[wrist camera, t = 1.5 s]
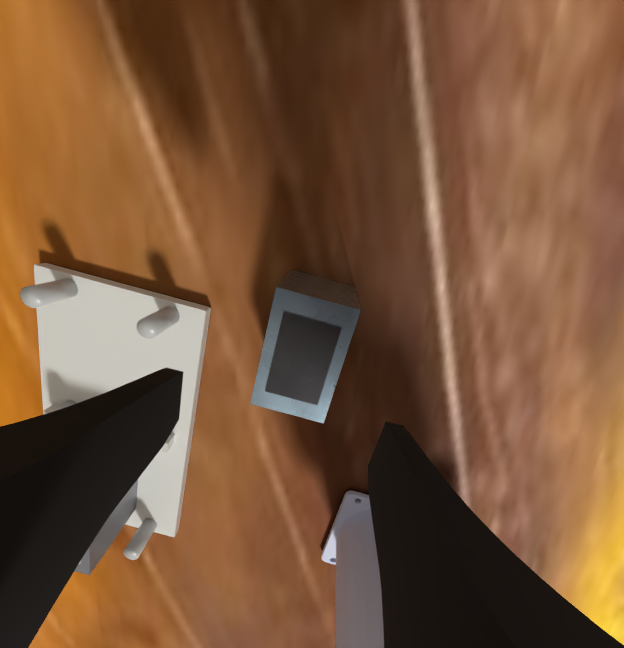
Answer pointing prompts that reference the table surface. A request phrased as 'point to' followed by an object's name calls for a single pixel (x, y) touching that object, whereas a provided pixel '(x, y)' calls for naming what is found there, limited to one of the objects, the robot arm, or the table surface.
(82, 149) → the table surface
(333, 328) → the block
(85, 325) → the grey fixture plate
